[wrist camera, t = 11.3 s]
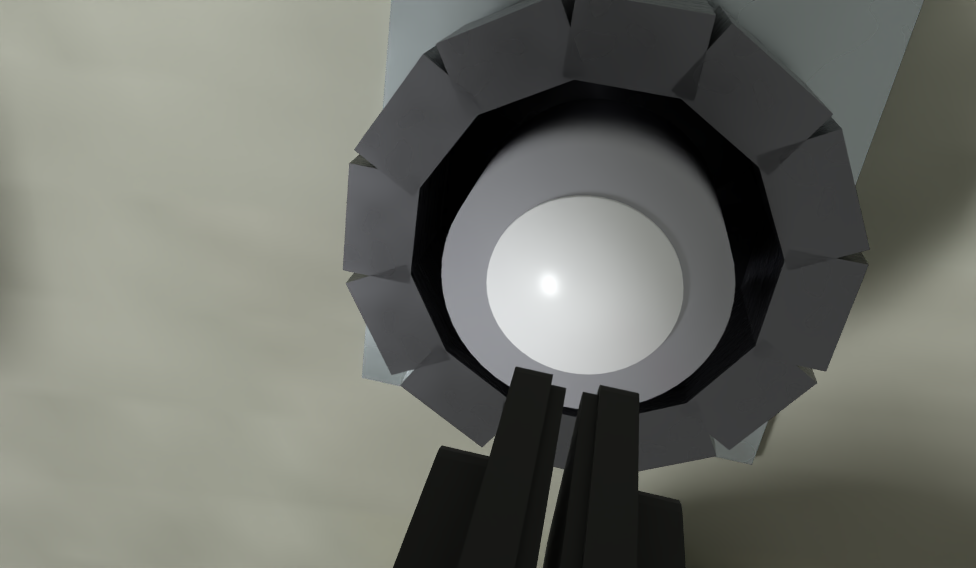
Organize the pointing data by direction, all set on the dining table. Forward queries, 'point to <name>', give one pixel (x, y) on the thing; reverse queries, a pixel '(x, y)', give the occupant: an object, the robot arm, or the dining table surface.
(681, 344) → the grey rounded dome
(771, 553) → the dining table surface
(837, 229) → the lens barrel
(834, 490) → the dining table surface
